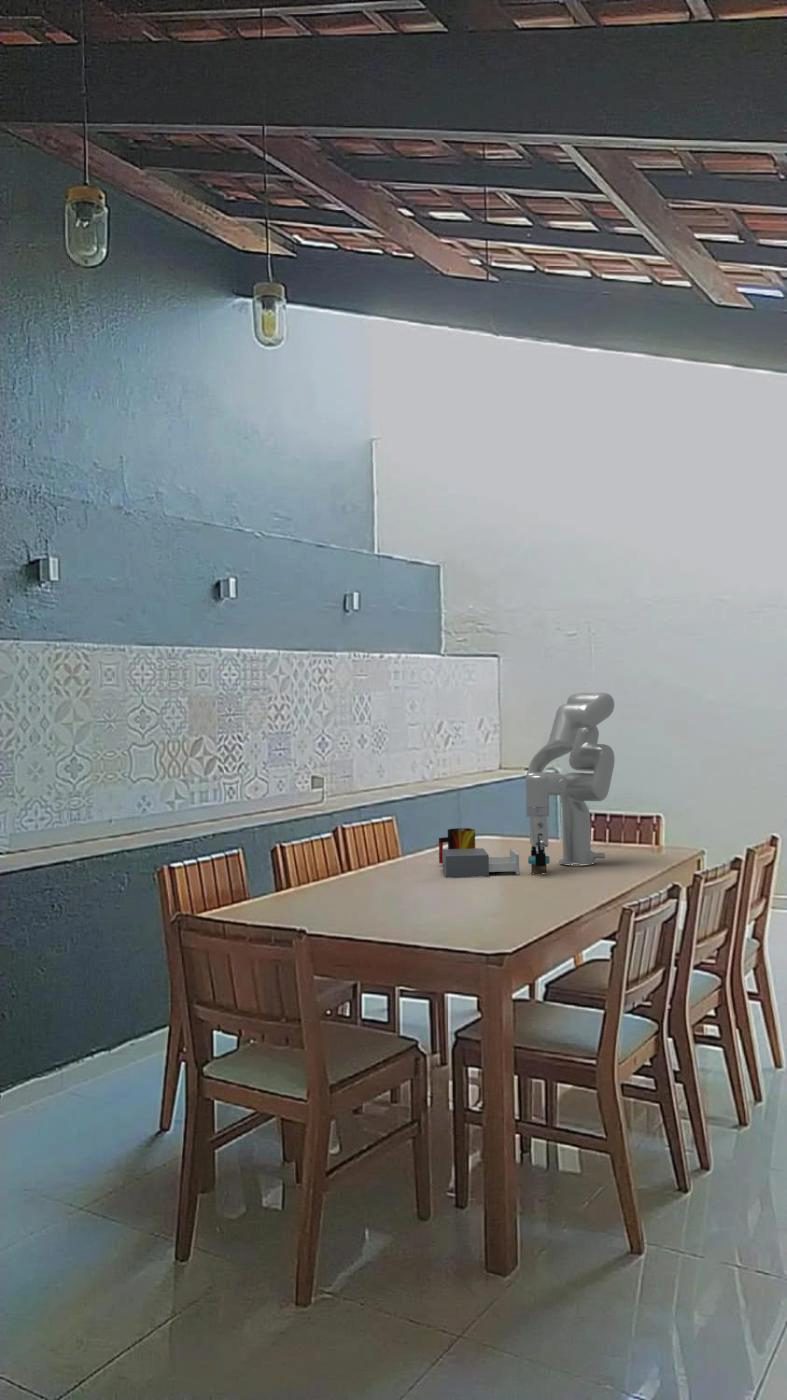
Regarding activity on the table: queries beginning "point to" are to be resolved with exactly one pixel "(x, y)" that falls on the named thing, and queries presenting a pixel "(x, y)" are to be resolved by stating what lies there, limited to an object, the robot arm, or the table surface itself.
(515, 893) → the table surface
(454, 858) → the housing
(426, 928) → the table surface
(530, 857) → the disc
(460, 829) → the mug
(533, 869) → the brown short rounded cylinder
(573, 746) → the robot arm
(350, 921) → the table surface
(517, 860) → the grey drawer
